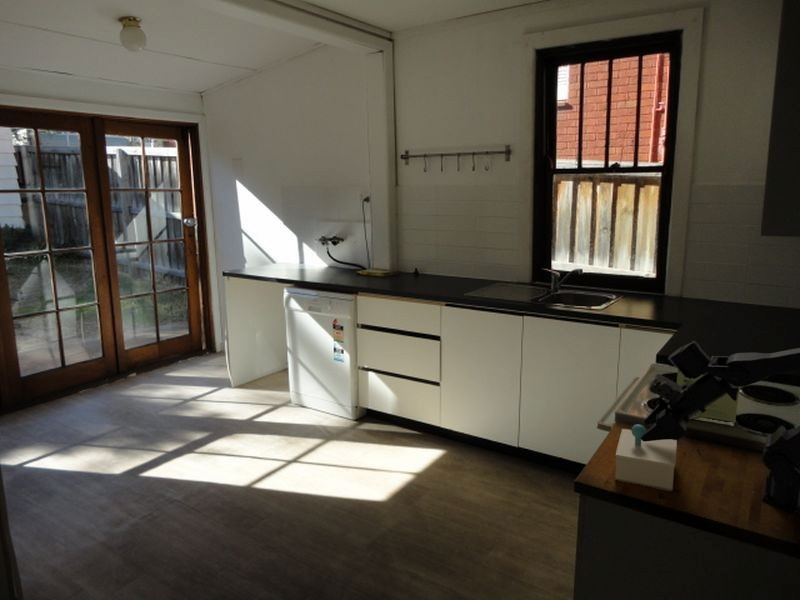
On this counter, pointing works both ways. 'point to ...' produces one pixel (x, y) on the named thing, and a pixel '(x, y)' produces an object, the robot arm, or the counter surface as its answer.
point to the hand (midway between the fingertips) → (643, 431)
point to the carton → (645, 473)
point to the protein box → (719, 409)
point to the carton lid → (646, 448)
